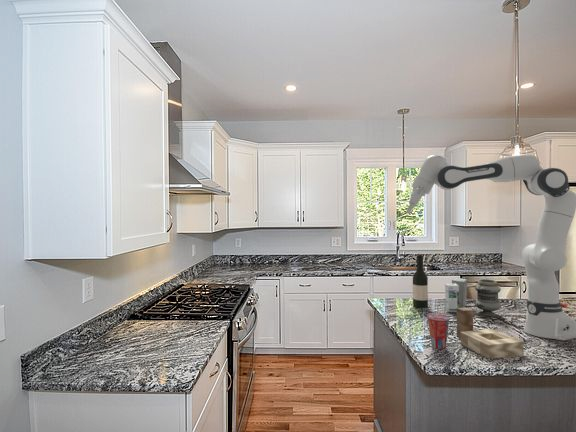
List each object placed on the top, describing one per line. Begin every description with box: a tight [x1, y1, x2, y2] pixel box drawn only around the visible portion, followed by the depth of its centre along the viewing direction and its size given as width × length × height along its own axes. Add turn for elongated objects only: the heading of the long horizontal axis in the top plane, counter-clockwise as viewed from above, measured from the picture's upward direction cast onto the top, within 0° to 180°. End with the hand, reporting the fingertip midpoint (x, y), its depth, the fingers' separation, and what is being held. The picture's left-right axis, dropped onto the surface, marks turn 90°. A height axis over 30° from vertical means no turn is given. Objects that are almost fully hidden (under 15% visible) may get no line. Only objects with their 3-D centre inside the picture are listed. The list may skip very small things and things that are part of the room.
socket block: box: [460, 328, 525, 360], centre depth 137 cm, size 15×15×5 cm
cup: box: [426, 313, 451, 350], centre depth 141 cm, size 9×8×12 cm
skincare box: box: [451, 277, 468, 308], centre depth 201 cm, size 8×7×16 cm
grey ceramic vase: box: [474, 278, 502, 319], centre depth 184 cm, size 12×12×18 cm
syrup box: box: [444, 283, 459, 313], centre depth 193 cm, size 6×6×14 cm
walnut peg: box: [456, 306, 474, 339], centre depth 151 cm, size 4×4×12 cm
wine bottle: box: [412, 253, 429, 309], centre depth 204 cm, size 8×8×30 cm
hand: (407, 212), depth 171 cm, fingers open, 8 cm apart
